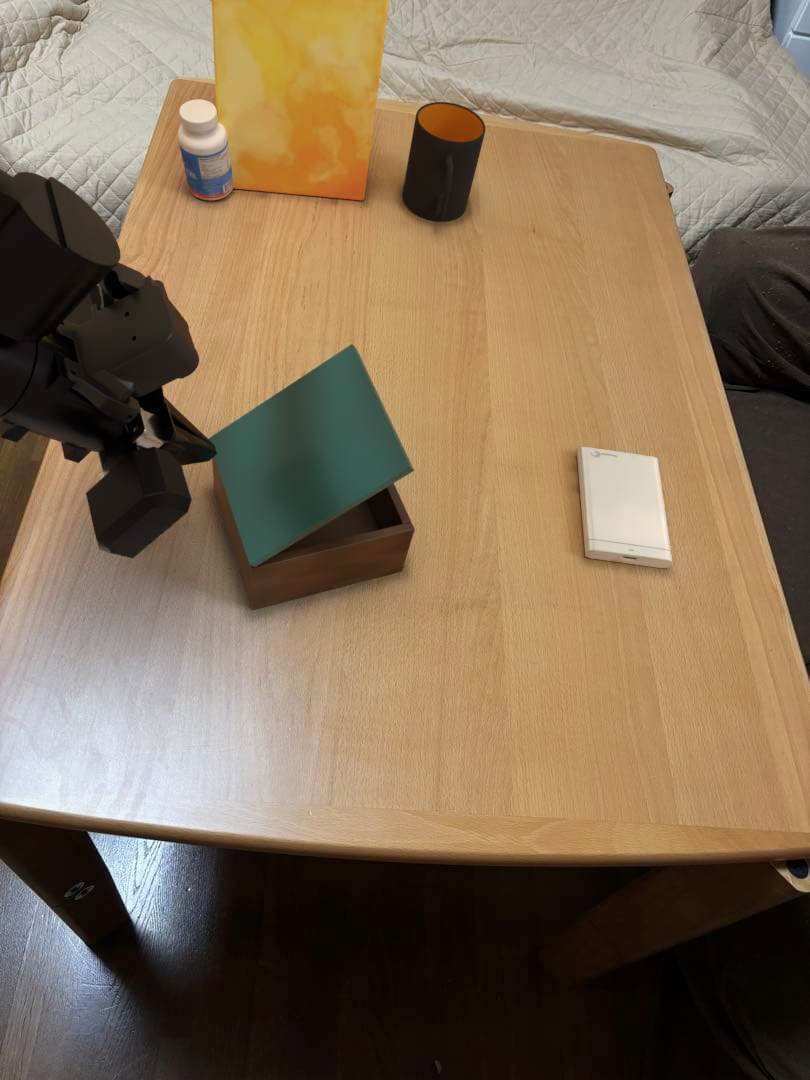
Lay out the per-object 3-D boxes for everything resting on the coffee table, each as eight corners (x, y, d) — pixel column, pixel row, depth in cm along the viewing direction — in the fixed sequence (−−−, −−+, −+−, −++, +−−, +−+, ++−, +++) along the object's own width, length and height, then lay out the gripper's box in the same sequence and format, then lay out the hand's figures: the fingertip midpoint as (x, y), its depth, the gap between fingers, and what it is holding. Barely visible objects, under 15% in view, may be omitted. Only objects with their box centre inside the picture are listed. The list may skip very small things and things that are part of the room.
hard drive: (581, 445, 80) (590, 548, 73) (659, 456, 81) (675, 560, 74) (575, 455, 81) (584, 558, 75) (652, 466, 82) (667, 569, 75)
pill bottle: (182, 177, 95) (166, 99, 87) (226, 167, 97) (214, 89, 88) (196, 206, 93) (180, 130, 84) (240, 196, 94) (229, 119, 86)
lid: (356, 348, 63) (352, 343, 63) (414, 471, 57) (410, 466, 57) (213, 442, 66) (207, 438, 66) (254, 567, 61) (249, 564, 60)
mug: (402, 236, 96) (417, 155, 87) (401, 177, 103) (415, 96, 94) (469, 244, 97) (490, 166, 89) (464, 185, 104) (483, 107, 95)
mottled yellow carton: (359, 143, 105) (383, -69, 85) (363, 201, 98) (391, -14, 79) (223, 129, 102) (216, -95, 82) (219, 188, 95) (209, -40, 76)
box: (355, 462, 76) (363, 415, 71) (402, 571, 71) (415, 529, 65) (214, 491, 72) (210, 443, 66) (252, 610, 66) (251, 569, 61)
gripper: (131, 405, 38) (334, 492, 50) (65, 168, 46) (253, 294, 59) (-4, 533, 42) (216, 584, 54) (-41, 294, 50) (156, 386, 63)
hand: (212, 453), depth 57 cm, fingers closed
